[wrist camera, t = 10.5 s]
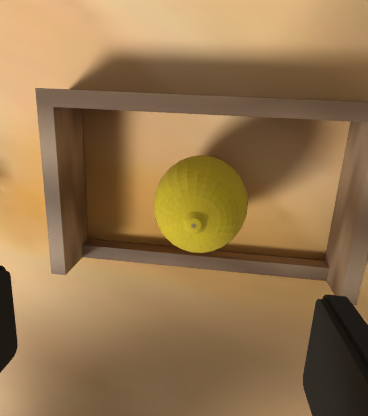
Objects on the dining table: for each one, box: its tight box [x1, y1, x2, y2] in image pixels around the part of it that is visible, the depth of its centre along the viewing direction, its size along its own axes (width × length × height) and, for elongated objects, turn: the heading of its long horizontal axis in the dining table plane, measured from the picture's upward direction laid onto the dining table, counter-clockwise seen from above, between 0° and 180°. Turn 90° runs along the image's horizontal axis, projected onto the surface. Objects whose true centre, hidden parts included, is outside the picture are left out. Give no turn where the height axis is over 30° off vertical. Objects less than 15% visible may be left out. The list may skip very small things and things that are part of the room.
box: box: [35, 88, 368, 305], centre depth 22 cm, size 12×20×4 cm, turn 87°
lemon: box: [154, 155, 248, 253], centre depth 20 cm, size 6×6×8 cm
